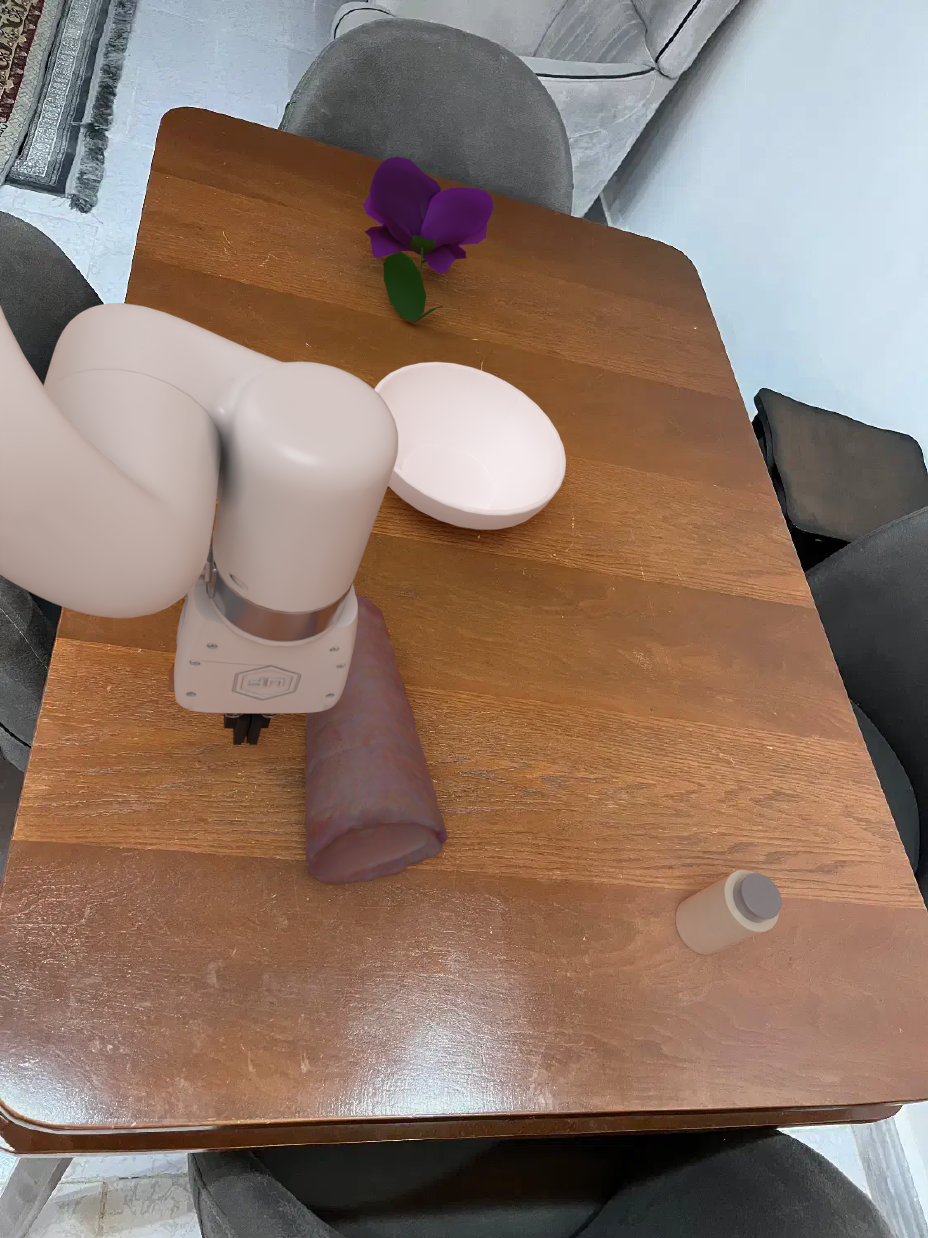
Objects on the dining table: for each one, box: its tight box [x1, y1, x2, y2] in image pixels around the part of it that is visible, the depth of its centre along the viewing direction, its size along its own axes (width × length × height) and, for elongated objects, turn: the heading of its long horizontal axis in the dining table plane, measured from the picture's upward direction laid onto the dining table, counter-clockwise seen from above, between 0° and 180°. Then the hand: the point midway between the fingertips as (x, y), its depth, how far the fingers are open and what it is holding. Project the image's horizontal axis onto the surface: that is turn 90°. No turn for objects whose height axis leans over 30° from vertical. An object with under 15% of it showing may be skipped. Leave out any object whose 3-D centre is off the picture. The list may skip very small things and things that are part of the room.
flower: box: [362, 156, 494, 324], centre depth 95 cm, size 15×15×14 cm
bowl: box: [373, 361, 567, 531], centre depth 81 cm, size 20×20×7 cm
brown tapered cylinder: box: [304, 593, 449, 885], centre depth 61 cm, size 21×9×9 cm, turn 15°
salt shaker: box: [674, 869, 783, 956], centre depth 62 cm, size 4×4×8 cm
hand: (244, 726), depth 60 cm, fingers closed
